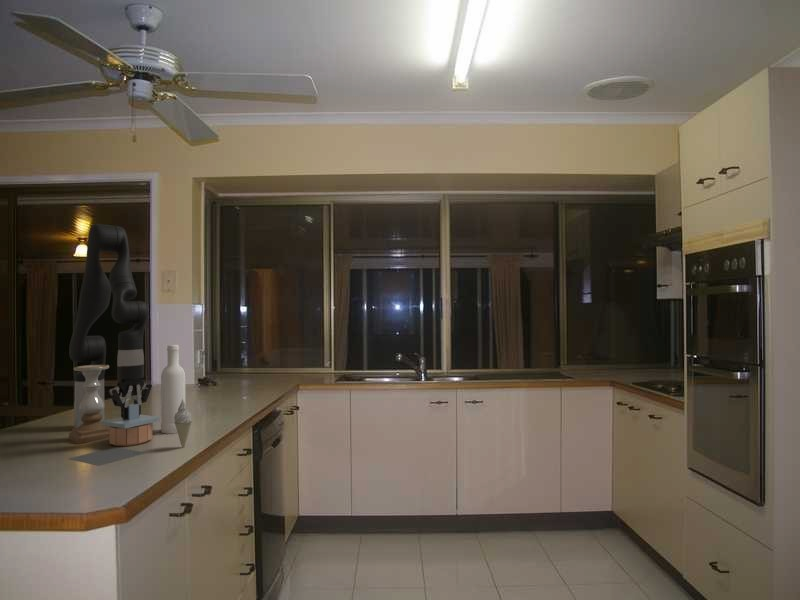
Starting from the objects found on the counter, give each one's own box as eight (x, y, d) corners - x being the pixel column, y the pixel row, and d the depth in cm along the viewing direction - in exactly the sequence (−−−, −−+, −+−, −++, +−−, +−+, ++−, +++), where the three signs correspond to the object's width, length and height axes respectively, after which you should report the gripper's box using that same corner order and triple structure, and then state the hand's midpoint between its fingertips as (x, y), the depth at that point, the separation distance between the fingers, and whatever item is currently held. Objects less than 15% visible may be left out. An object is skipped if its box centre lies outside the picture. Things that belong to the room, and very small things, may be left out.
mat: (67, 460, 146) (67, 458, 146) (115, 448, 159) (115, 446, 159) (98, 467, 139) (98, 465, 139) (146, 454, 151) (146, 452, 151)
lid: (101, 424, 162) (101, 406, 162) (137, 417, 173) (136, 400, 173) (124, 428, 156) (124, 409, 157) (160, 420, 167) (160, 402, 167)
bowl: (101, 445, 162) (101, 426, 162) (137, 436, 173) (136, 418, 173) (124, 449, 156) (124, 429, 156) (160, 440, 167) (160, 422, 167)
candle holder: (115, 437, 172) (115, 365, 172) (78, 444, 164) (78, 368, 164) (104, 432, 179) (104, 363, 180) (68, 439, 171) (67, 366, 172)
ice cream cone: (177, 446, 159) (177, 397, 159) (194, 446, 160) (194, 397, 160) (171, 451, 154) (171, 400, 154) (189, 450, 155) (188, 400, 155)
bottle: (176, 434, 176) (176, 345, 176) (156, 433, 177) (155, 345, 178) (190, 428, 183) (190, 344, 184) (170, 428, 185) (170, 344, 186)
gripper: (143, 361, 173) (143, 413, 173) (101, 365, 161) (102, 421, 160) (158, 362, 169) (158, 415, 169) (116, 366, 157) (116, 423, 157)
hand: (130, 417), depth 165 cm, fingers closed on lid, 3 cm apart
